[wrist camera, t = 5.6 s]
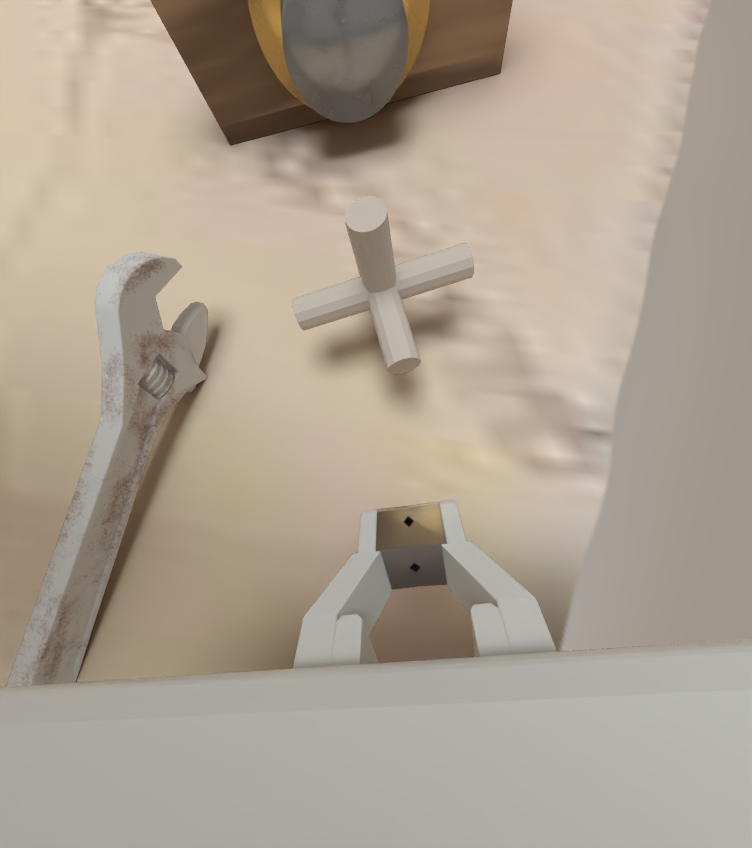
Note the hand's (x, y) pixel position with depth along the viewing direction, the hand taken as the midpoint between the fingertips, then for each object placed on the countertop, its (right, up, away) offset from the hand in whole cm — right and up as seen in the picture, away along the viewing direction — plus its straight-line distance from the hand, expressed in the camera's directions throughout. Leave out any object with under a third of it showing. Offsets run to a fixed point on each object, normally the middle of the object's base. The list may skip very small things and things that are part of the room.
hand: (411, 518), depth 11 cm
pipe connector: (0, +10, +13) cm, 16 cm away
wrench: (-17, -2, +13) cm, 22 cm away
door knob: (-2, +28, +17) cm, 33 cm away
